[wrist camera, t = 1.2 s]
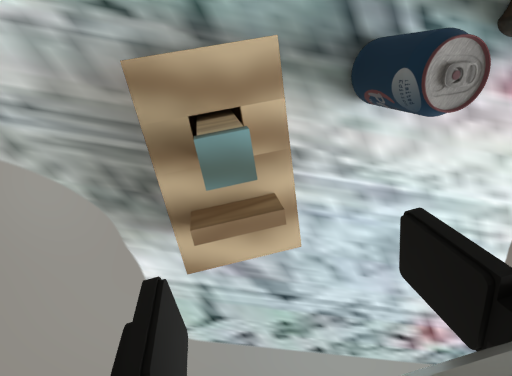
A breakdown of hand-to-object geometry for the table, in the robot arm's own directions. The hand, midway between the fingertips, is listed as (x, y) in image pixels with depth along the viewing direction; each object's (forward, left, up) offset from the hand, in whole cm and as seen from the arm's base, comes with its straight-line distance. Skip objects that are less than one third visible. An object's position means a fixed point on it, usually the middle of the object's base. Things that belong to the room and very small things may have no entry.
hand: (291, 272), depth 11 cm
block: (-2, -1, -24) cm, 24 cm away
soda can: (-4, +18, -25) cm, 31 cm away
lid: (+1, -1, -17) cm, 17 cm away
